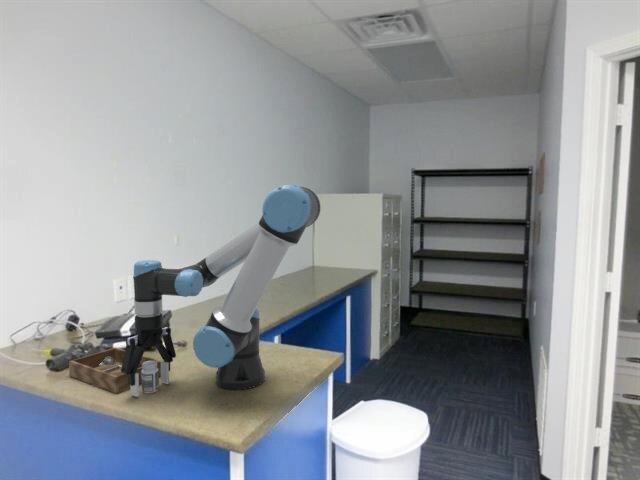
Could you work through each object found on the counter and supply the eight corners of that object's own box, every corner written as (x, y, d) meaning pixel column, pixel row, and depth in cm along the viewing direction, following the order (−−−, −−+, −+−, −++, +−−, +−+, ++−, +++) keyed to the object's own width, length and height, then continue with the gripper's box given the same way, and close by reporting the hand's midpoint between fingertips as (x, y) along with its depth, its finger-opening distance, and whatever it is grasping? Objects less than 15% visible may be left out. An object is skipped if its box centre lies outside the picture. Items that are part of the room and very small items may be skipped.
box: (162, 376, 141) (161, 360, 141) (116, 394, 128) (115, 377, 127) (115, 361, 154) (115, 347, 154) (69, 376, 140) (68, 361, 140)
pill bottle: (153, 385, 134) (153, 358, 133) (162, 390, 131) (161, 362, 130) (138, 390, 130) (137, 363, 130) (147, 395, 127) (146, 366, 127)
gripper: (171, 305, 140) (172, 373, 142) (104, 320, 121) (107, 399, 123) (187, 308, 136) (188, 378, 138) (121, 324, 117) (124, 406, 119)
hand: (150, 388), depth 131 cm, fingers open, 10 cm apart
